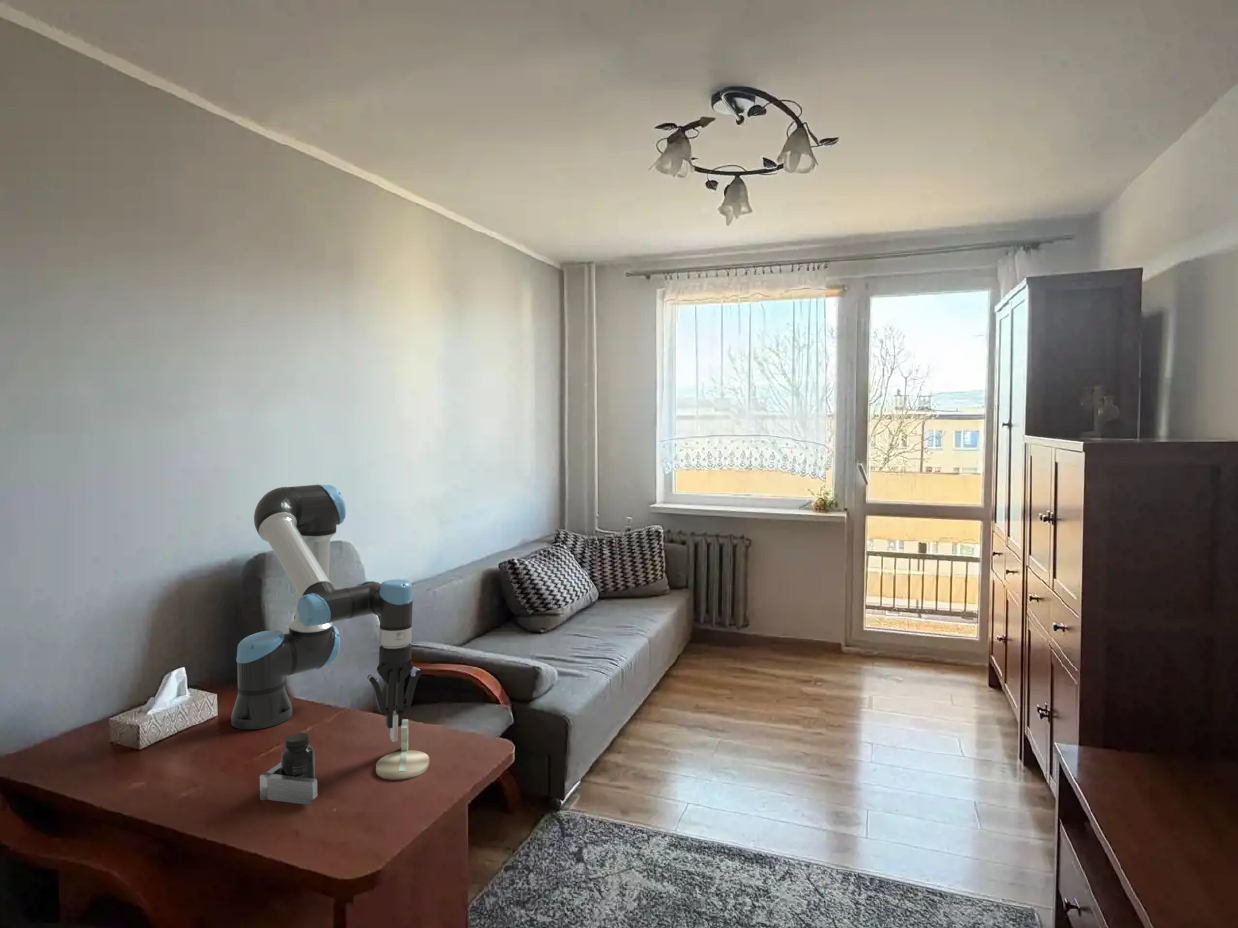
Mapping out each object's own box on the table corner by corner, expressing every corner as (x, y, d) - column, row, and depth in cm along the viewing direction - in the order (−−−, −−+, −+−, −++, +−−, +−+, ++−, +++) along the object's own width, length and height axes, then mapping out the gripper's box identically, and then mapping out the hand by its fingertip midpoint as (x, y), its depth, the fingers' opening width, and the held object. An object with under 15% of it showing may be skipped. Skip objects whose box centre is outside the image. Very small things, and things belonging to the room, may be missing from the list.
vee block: (254, 781, 165) (254, 760, 165) (303, 769, 170) (302, 749, 170) (266, 817, 150) (265, 794, 149) (318, 803, 155) (318, 781, 155)
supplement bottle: (320, 782, 165) (319, 731, 164) (306, 797, 158) (305, 744, 157) (290, 781, 165) (289, 730, 164) (275, 797, 158) (274, 743, 157)
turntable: (380, 749, 179) (379, 721, 178) (430, 744, 181) (430, 717, 181) (373, 782, 162) (373, 751, 162) (428, 776, 165) (428, 746, 165)
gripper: (372, 651, 169) (370, 750, 170) (425, 644, 176) (424, 740, 177) (365, 643, 176) (363, 739, 176) (416, 637, 182) (415, 729, 183)
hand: (393, 739), depth 177 cm, fingers closed
